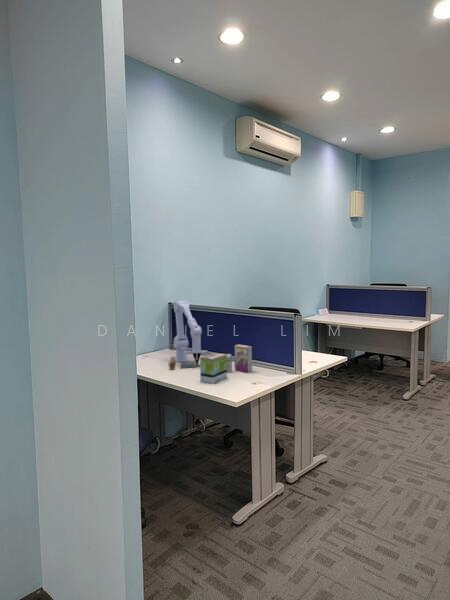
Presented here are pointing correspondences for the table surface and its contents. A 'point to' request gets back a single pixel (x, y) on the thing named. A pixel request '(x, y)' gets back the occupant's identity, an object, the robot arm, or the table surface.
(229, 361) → the light bulb box
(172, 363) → the stop bar
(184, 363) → the steel slab
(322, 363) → the table surface
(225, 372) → the tea box
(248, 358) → the candy bar box
